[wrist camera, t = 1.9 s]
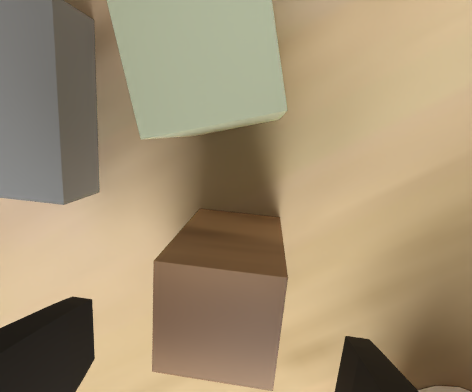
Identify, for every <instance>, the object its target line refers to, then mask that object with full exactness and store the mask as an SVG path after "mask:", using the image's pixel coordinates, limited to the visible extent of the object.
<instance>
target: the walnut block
mask: <svg viewBox="0 0 472 392" xmlns="http://www.w3.org/2000/svg"><path fill="white" fill-rule="evenodd" d="M287 280H288V275H287V268H286V260H285V253H284V245H283V237H282V230H281V222H280V217H273V216H263V215H254V214H245V213H235V212H226V211H217V210H207V209H199V210H198V211H197V212H196V214H195V215H194V216H193V217H192V218H191V219H190V220H189V222H188V223H187V224H186V225H185V226H184V227H183V228H182V229H181V231H180V232H179V233H178V234H177V235H176V236H175V237H174V239H173V240H172V241H171V242H170V243H169V244H168V245H167V247H166V248H165V249H164V250H163V251H162V252H161V253H160V254H159V256H158V257H157V258H156V259H155V260H154V278H153V350H152V372H158V373H164V374H170V375H176V376H183V377H189V378H195V379H201V380H207V381H214V382H220V383H226V384H232V385H239V386H245V387H251V388H257V389H263V390H270V391H273V386H274V379H275V371H276V364H277V356H278V348H279V341H280V333H281V326H282V318H283V311H284V303H285V295H286V288H287Z"/></svg>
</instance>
